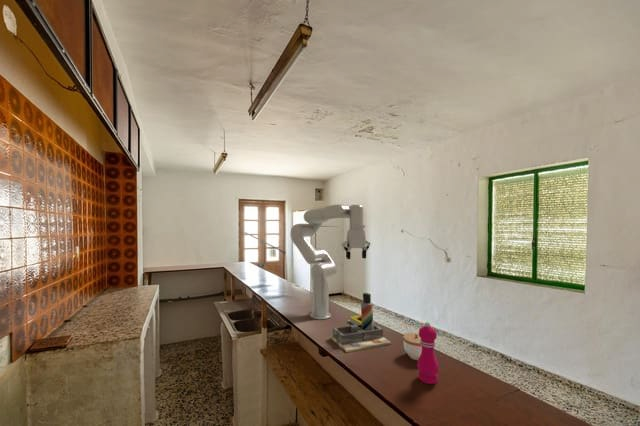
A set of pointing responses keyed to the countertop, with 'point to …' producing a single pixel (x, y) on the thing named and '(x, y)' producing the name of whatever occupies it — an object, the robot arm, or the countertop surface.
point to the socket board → (358, 337)
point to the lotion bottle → (367, 312)
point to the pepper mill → (428, 355)
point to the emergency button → (356, 320)
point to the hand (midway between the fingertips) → (356, 258)
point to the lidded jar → (412, 345)
